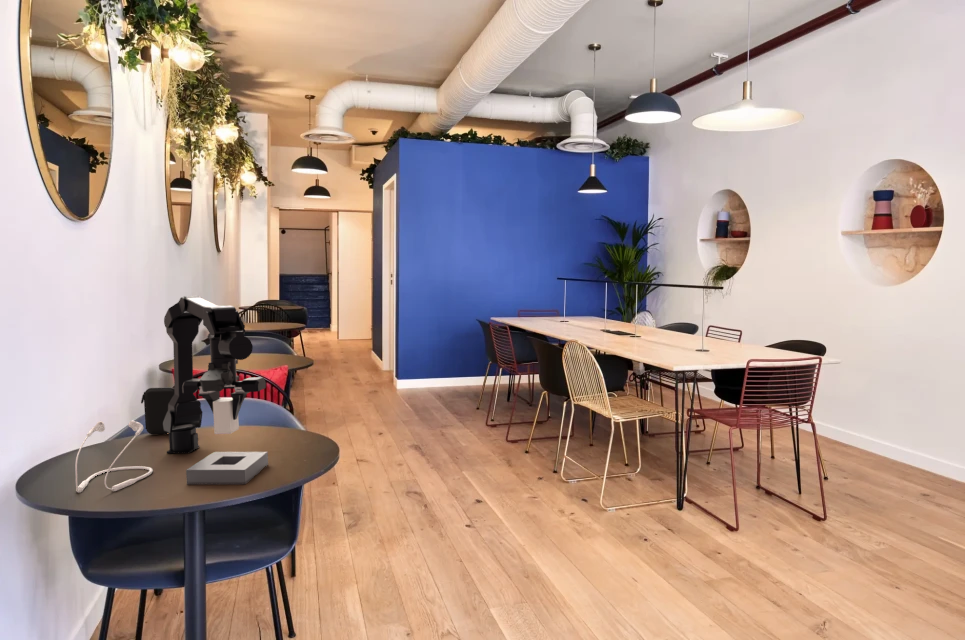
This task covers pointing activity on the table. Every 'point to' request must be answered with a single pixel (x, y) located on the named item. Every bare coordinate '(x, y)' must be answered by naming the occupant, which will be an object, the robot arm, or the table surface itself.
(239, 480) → the socket block
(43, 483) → the table surface
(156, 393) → the carrying case or bag
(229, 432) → the plug
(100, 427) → the earphone
